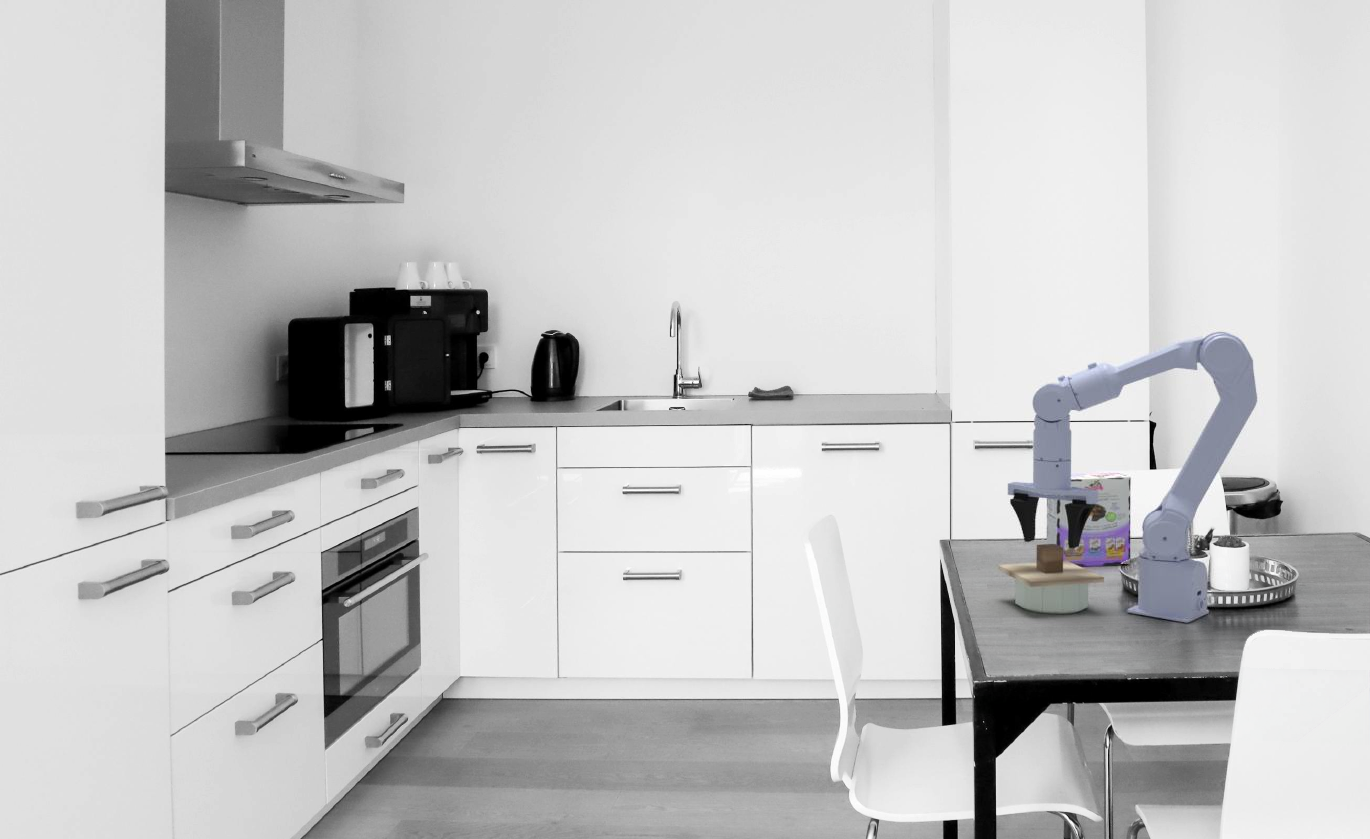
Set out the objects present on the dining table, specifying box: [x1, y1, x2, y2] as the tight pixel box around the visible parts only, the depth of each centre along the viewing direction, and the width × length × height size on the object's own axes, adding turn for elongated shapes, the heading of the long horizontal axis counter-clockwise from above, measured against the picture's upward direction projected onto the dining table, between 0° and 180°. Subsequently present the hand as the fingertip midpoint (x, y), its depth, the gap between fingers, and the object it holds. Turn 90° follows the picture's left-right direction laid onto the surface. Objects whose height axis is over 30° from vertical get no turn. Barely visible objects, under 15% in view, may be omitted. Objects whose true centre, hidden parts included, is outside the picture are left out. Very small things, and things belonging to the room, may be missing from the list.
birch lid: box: [997, 543, 1105, 587], centre depth 186 cm, size 12×12×5 cm
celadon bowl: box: [1014, 579, 1089, 615], centre depth 187 cm, size 11×11×5 cm
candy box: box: [1046, 472, 1132, 567], centre depth 216 cm, size 14×6×16 cm, turn 92°
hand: (1051, 543), depth 186 cm, fingers open, 7 cm apart
